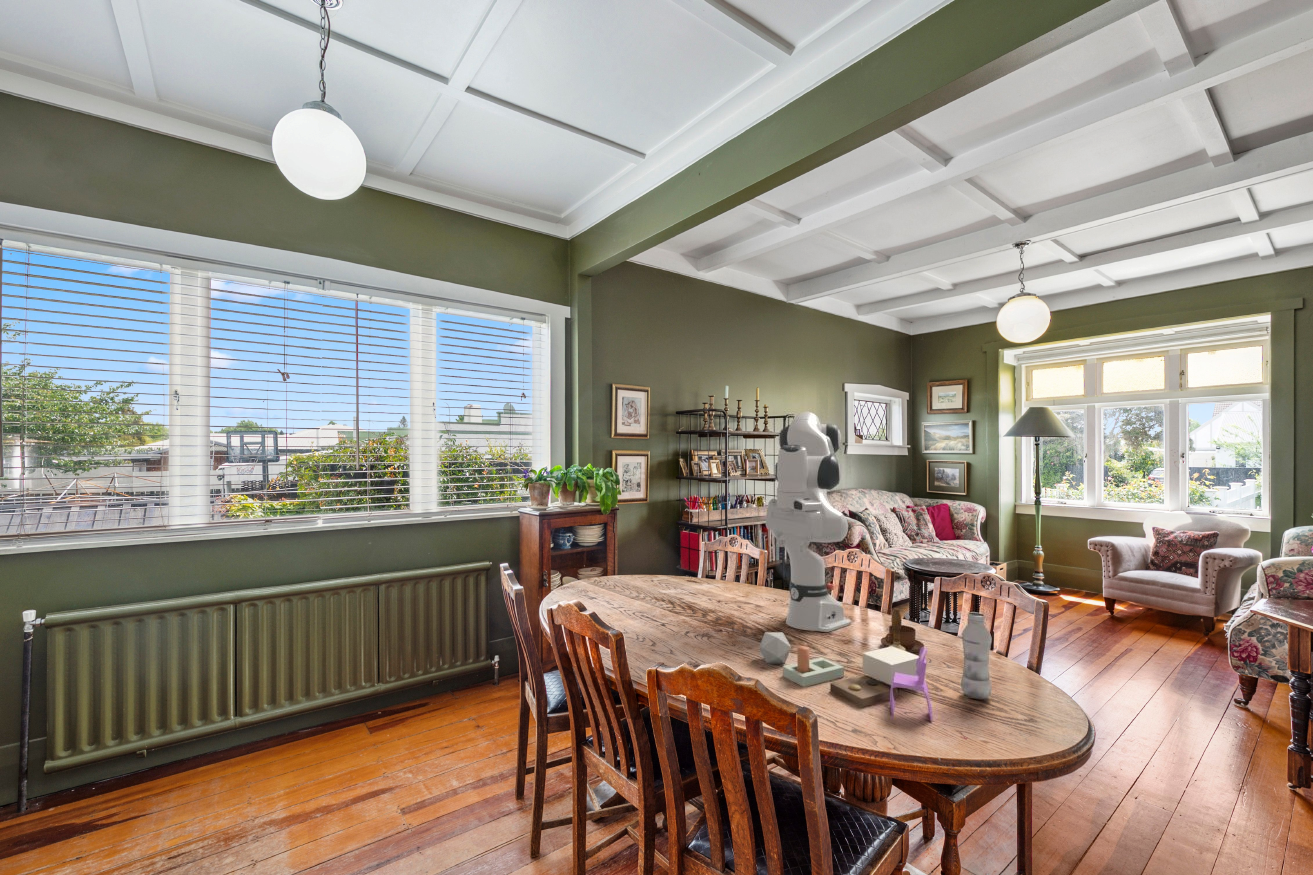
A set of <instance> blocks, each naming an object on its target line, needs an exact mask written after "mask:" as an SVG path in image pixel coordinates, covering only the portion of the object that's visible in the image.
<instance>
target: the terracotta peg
mask: <svg viewBox="0 0 1313 875" xmlns="http://www.w3.org/2000/svg"><path fill="white" fill-rule="evenodd" d="M796 655H797V662H796V663H797V671H798V672H800V673H802V674H804V673H808V672H809V660H810V647H808V646H805V645H798V646H797V654H796Z"/></svg>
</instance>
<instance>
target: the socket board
mask: <svg viewBox="0 0 1313 875" xmlns="http://www.w3.org/2000/svg"><path fill="white" fill-rule="evenodd" d="M782 677H784V678H786V679H788V680H790V681H792V682H793V683H796V684H797V685H800V686H801V687H803V688H806V687H809V686H814V685H818V684H820V683H826V682H829V681H832V680H836V679H840V678H844V677H845V667H844V666H842V665H840V664H838V663H836V662H834V661H831V660H829V659H826V658H824V657H823V656H822V657H818V658H813V659H809V672H808V673H804V674H802V673H800V672H798V671H797V662H795V663H791V664H787V665H782Z"/></svg>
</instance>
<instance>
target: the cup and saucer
mask: <svg viewBox="0 0 1313 875" xmlns="http://www.w3.org/2000/svg"><path fill="white" fill-rule="evenodd" d="M893 636H894V631H893V627H892V624H891V625H889V627H888V633H887V634H886V636H883V637H882V638H881V639H880V644H881V645H883V646H884V648H887V647H889V646H890V645H893V639H894V638H893ZM916 636H917V635H916V628H914V627H913V626H909V625H904V624H901V629H900V645H901V646H902V647H904V648H905V649H906V652H909V653H912V654H915V653H918V652H919V653H920V650H921V648H922V647H925V644H924V643H923V642H922V641H920V640H917V639H916Z"/></svg>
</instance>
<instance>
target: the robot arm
mask: <svg viewBox="0 0 1313 875" xmlns="http://www.w3.org/2000/svg"><path fill="white" fill-rule="evenodd" d="M819 418H820V417H818V416H817V415H816V414H814V413H813V412H812V411H811V412H810V411H801V412H800V413H798V414H797V415H795V416H794V417H793V419H792V421H791V422H790V424H788V425H786V426H784V427H782V429H781V430H780V433H779V435H778V445H779V447H780V448H779V450H778V454H777V455H778V456H777V462H776V463H775V467H774V468H775V471H774V472H775V473H774V474H775V476H774V477H775V481H776V482H778V483H777V487H776V498H772V499H770V500H769V502H768V504H767V509H766V514H765V527H766V530H770V533H771V534H772V536H774V538H775V539H776V541H777V542H776V544H777V547H779V548H780V547H781V548H785V550H786V552H787V554H788V557H789V563H790V565H789V566H790V581H789V596H790V597H789V602H788V612H787V616H786V620H785V624H786V625H787V626H789V627H792V628H794V629H798V630H804V631H811V632H812V631H813V632H814V631H815V632H822V633H830V632H832V631H834V630H838V629H840V628H844V627H846V626H849V625H851V624H852V620H850V618H848V617H845V613H844V612H845V611H844V608H843V607H844V606H843V605H842V603H840V602H839V601H838V600H837V599H835V598H834V597H833V596H832V595H831V594H830V592H829V590H830V591H834V589H835V585H834V584H833V583H829V582H828V583H826V582H825V580H826V579H825V576H826V575H825V574H826V572H825V571H826V570H825V569H826V567H825V565H826V564H825V561H824V559H823V557H822V556H821V555H819V554H818V553H816V552H815V551H813V550H811V549H810V548H809V545H810V543H825V544H826V543H827V544H830V543H835V542H836V543H837V542H842V541H843V540H844V539H845V538H846V536H847V534H848V531H849V522H848V520H847V518H846V516H845V514H843V513H842V512H840V511H839V510H837V509H836V508H835V507H834V506H833V505H832V504H831V503H830V501H829V498H828V492H827V491H829V490H830V491H832V490H834V488H835V487H837V486H838V485H839V484H840V481H841V478H842V469H841V465H840V463H839V460H838V459H837V456H836V453H837V452H838V451H839V449H840V446H841V444H842V433H841V431H840V429H839V427H838V425H836V424H832V423H827V424H826V423H824V424H823V423H821V421H820V419H819Z"/></svg>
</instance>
